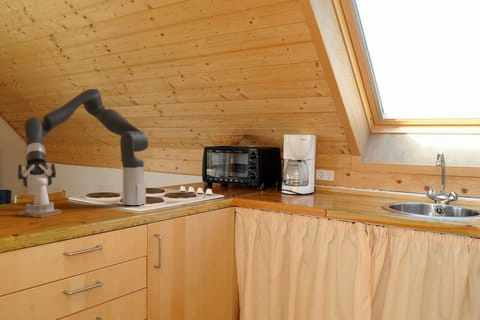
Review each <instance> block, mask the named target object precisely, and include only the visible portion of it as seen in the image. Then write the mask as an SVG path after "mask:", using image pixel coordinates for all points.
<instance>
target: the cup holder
mask: <svg viewBox="0 0 480 320" xmlns="http://www.w3.org/2000/svg"><path fill="white" fill-rule="evenodd" d="M49 203H50V204H46V205H33V204H34V201H33V202H27V203H26V204H25V209H24V210H21V211H18V212H17V214H18V216H22V215H25V216H24V217H30V216H33V218H38V217H42V218H45V216H46V217H51V216H53V215H59V214H62V210H61V209H55V208H54V207H55V203H54V201H49ZM50 215H51V216H50Z"/></svg>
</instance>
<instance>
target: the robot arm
mask: <svg viewBox="0 0 480 320" xmlns="http://www.w3.org/2000/svg"><path fill="white" fill-rule="evenodd" d="M81 105H83V108H84V110H85V112H87V113H88V114H90V115H92V116H93V117H94V118H96V120H97V121H99V122H100V124H102V126H103V127H105V128H106V130H108V131H109V132H111V133H113V134H116V135H117V136H120V140H119V141H120V158H121V159H120V160H121V163H122V205H123V206H124V205H141V206H143V205H142V204H144V205H146V203H147V198H146V197H147V194H146V193H147V192H146V190H147V189H146V187H147V186H146V185H147V184H146V183H145V180H144V179H145V177H144V176H145V175H144V172H145V168H144V167H145V166H144V165H145V162H144V160H142V159H140V158H137V157H136V155H135V153H137V152H143V151H145V150H147V148H148V146H149V140H148V137H147V135H146V133H145V132H143V131H142V130H140V129H138V128H137V127H136V126H134V125H133V124H132V123H131V122H129V120H127V119H126V118H125V117H123V116H122V115H121V114H120V113H119V112H118V111H117V110H115V109H113V108H106V107H105V106H104V104H103V100H102V95H101V92H100V91H99V90H98V89H95V88H89V89H86V90H84V91H82V92H81V93H79V94H77V95H76V96H74V98H72V99H71V100H69V101H68V102H66V103H65V104H64V105H62V106H60V107H58V108H57V109H54V110H52V111H50V112H48V113H47V114H45V115H43V117H42V118H43V119H42V121H41V120H40V118H38V117H29V118H28V119H27V120H26V121H25V122H24V130H25V136H26V137H25V138H26V149H25V154H26V155H25V156H26V158H25V159H26V164H25V165H22V164H18V167H17V178H18V180H22V183H23V186H25V188H27V187H28V178H30V177H31V176H44V178H45V177H46V179H47V185H48V186H51V185H52V183H53V178H56V177H57V171H56V167H55V166H56V165H55V163H51V164H50V165H49V164H47V156H46V149H45V141H44V137H45V136H47V134H49V133H50V132H51V131H52V130H53V129H54V128H56V127H58V126H60V125H63V124H64V123H65V122H67V121H68V120H70V118H71V117H72V116H73V114H74V113H75V111H76V110H77V109H78V108H79V107H80V106H81ZM48 169H49V170H50V171H51V172H49V170H48ZM24 171H25V172H24ZM22 172H24V173H23V174H22Z"/></svg>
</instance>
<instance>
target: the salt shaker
mask: <svg viewBox="0 0 480 320" xmlns="http://www.w3.org/2000/svg"><path fill="white" fill-rule="evenodd" d="M34 184H35V185H36V189H35V194H34V200H33V202H34V204H33V205H46V204H50V203H49V202H50V199H49V195H48V190H47V185H48V178H45V177H39V178H36V179H35V180H34Z"/></svg>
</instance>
